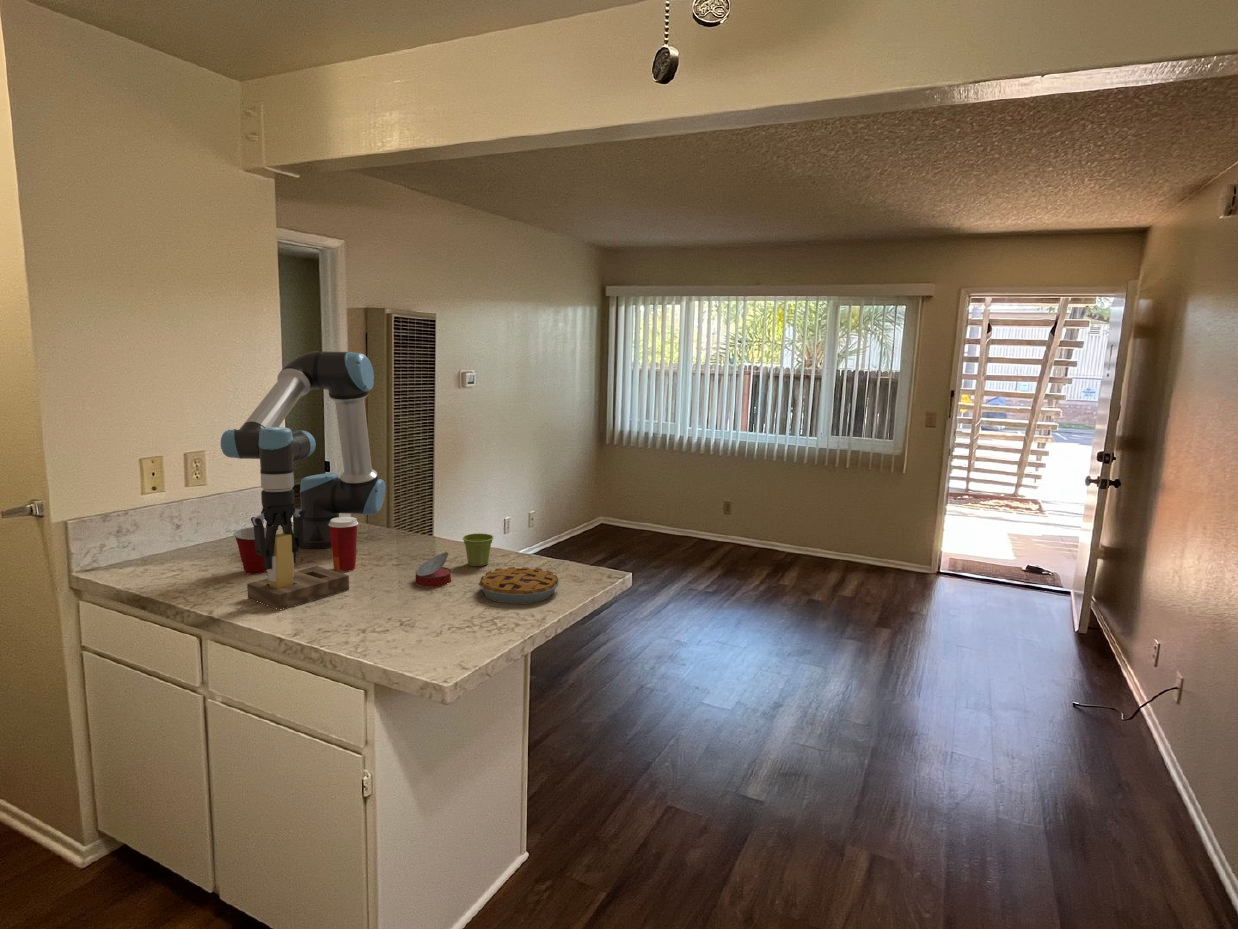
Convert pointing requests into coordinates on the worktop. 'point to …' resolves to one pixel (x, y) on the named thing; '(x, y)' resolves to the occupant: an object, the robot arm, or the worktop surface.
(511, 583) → the pie
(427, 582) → the canned food
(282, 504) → the robot arm
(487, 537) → the plant pot
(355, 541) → the coffee cup
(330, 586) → the socket block
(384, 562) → the worktop surface
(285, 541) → the square peg
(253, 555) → the plastic cup
